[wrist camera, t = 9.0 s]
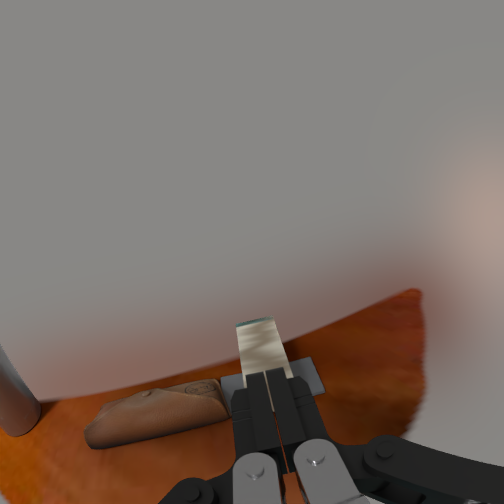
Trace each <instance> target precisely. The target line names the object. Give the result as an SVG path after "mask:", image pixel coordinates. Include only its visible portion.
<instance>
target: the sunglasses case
mask: <svg viewBox="0 0 504 504" xmlns="http://www.w3.org/2000/svg"><path fill="white" fill-rule="evenodd" d="M230 417H232V416H231V412H230V410H229V407H228V405H227V402H226V400H225V397H224V394H223V392H222V389H221V386H220V384H219V382H218V380H216V379H204V380H199V381H194V382H189V383H184V384H181V385H176V386H172V387H168V388H164V389H160V388H155V389H151V390H147V391H142V392H139V393H136V394H134V395H132V396H131V397H127V398H122V399H119V400H116V401H112V402H109V403H106V404H104V405H103V406H102V407H101V408H100V412H99V413H98V415H97V416H96V418H95V419H94V420H93V421H92V422H91V423H90V424H88V425H87V426H86V427H85V429H84V438H85V440H86V443H87V444H88V446H89V447H90V448H91V449H103V448H109V447H113V446H119V445H122V444H129V443H133V442H136V441H143V440H147V439H153V438H157V437H162V436H166V435H170V434H174V433H179V432H183V431H187V430H191V429H194V428H198V427H202V426H206V425H210V424H213V423H216V422H220V421H224V420H226V419H228V418H230Z"/></svg>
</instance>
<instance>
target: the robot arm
mask: <svg viewBox="0 0 504 504" xmlns="http://www.w3.org/2000/svg"><path fill="white" fill-rule="evenodd" d="M265 373H266V377H267V382H268V386H269V390H270V395H271V399H272V403H273V407H274V412H275V416H276V420H277V424H278V428H279V432H280V436H281V440H282V444H283V448H284V452H285V456H286V460H287V464H288V468H289V472H290V473H292V472H295V473H296V477H297V481H298V484H299V489H300V492H301V495H302V497H303V500H304V502H305V504H370V503H369V501H368V499H367V498H366V497H365V496H368V497H370V498H372V499H375V500H377V501H380V502H382V503H385V504H504V467H501V466H497V465H492V464H487V463H483V462H478V461H474V460H470V459H466V458H463V457H458V456H455V455H452V454H448V453H445V452H441V451H438V450H435V449H431V448H428V447H425V446H422V445H419V444H416V443H413V442H410V441H407V440H404V439H402V438H399V437H396V436H393V435H381V436H377V437H375V438H373V439H372V440H371V441H370V442H369V443H368V444H365V445H342V444H339V443H336V442H335V441H333V440H332V439H331V438H330V437H329V436H328V434H327V431H326V429H325V426H324V424H323V421H322V418H321V416H320V413H319V411H318V408H317V406H316V404H315V400H314V398H313V396H312V393H311V390H310V387H309V385H308V383H307V382H306V381H305V380H303V379H302V378H301V377H300V376H296V377H292V378H288V379H287V377H286V374H285V371H284V368H283V367H279V368H274V369H270V370H266V371H265ZM245 377H246V384H247V388H243V389H238V390H235V391H234V393H233V396H232V398H231V401H230V402H231V412H232V421H233V432H234V441H235V450H236V459H235V462H234V464H233V466H232V467H231V468H230V469H229V470H228V471H227V472H225V473H224V474H222V475H220V476H217V477H215V478H212V479H210V480H207V481H205V480H203V479H200V478H187V479H184V480H182V481H180V482H178V483H177V484H176V485H175V486H174V487H173V488H172V490H171V491H170V492H169V493H168V494H167V495H166V496H165V497H164V498H163V499H162V500H161V501H160V502H159V503H158V504H287V503H286V495H285V492H286V488H285V483H284V479H283V475H284V474H288V472H287V468H286V464H285V460H284V456H283V451H282V447H281V443H280V439H279V435H278V431H277V427H276V422H275V418H274V414H273V410H272V406H271V401H270V397H269V393H268V389H267V385H266V380H265V376H264V372H263V371H262V372H257V373H252V374H247V375H245ZM40 413H41V406H40V403H39V402H38V401H37V399H36V398H35V397H34V395H33V394H32V392H31V391H30V390H29V388H28V387H27V386H26V384H25V383H24V381H23V380H22V378H21V377H20V375H19V374H18V372H17V371H16V369H15V368H14V366H13V365H12V363H11V361H10V360H9V358H8V357H7V355H6V353H5V352H4V350H3V348H2V346H1V345H0V427H1V428H2V429H3V430H4V431H5V432H6V433H7V434H8V435H10V436H20V435H23V434H25V433H26V432H28V431H29V430H30V429H31V428H32V427H33V426H34V425H35V424H36V422H37V421H38V419H39V417H40ZM360 493H361V494H363V495H361V494H360ZM364 495H365V496H364Z"/></svg>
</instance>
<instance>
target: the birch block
mask: <svg viewBox="0 0 504 504" xmlns="http://www.w3.org/2000/svg"><path fill="white" fill-rule="evenodd" d="M236 328H237V337H238V345H239V352H240V360H241V367H242V374H243V382H244V388H247V384H246V377H245V375H247V374H252V373H257V372H262V371H263V372H264V376H265V380H266V385H267V389H268V393H269V397H270V401H271V406H272V410H273V412H274V407H273V403H272V399H271V395H270V390H269V386H268V382H267V377H266V373H265V371H266V370H270V369H274V368H279V367H283V368H284V371H285V374H286V377H287V379H288V378H292V377H293V374H292V371H291V368H290V365H289V362H288V359H287V357H286V354H285V351H284V348H283V345H282V342H281V339H280V336H279V333H278V330H277V327H276V324H275V321H274V318H273V316H269V317H265V318H260V319H256V320H252V321H247V322H243V323H239V324H236Z"/></svg>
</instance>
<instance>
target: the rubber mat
mask: <svg viewBox="0 0 504 504" xmlns="http://www.w3.org/2000/svg"><path fill="white" fill-rule="evenodd" d="M289 365H290V368H291V371H292V374H293V377H296V376H300V377H301V378H302V379H303V380H305V381H306V382H307V383H308V385H309V387H310V390H311V393H312V396H315V395H318V394H322V393H325V389H324V387H323V385H322V382H321V380H320V378H319V376H318V373H317V371H316V369H315V366H314V364H313V362H312V360H311V357H307V358H304V359H300V360H296V361H292V362H289ZM243 388H244V382H243V374H242V373H240V374H235V375H230V376H225V377H221V389H222V392H223V394H224V397H225V400H226V402H227V405H228V407H229V410H230V412H231V402H230V401H231V398H232V396H233V393H234V391H235V390H238V389H243ZM231 415H232V412H231Z"/></svg>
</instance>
